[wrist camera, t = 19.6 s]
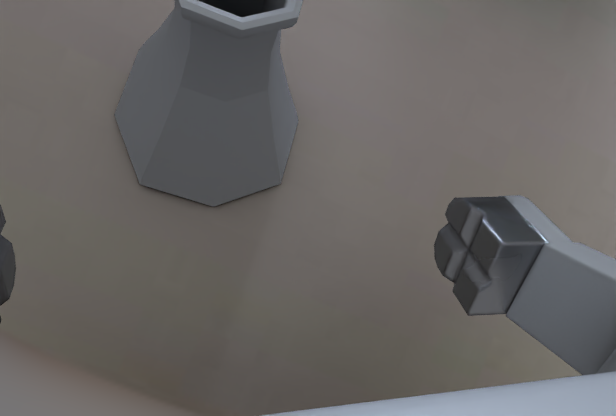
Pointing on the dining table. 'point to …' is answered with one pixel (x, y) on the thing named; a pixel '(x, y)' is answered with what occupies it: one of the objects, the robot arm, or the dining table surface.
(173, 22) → the flask
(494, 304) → the robot arm
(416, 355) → the dining table surface
